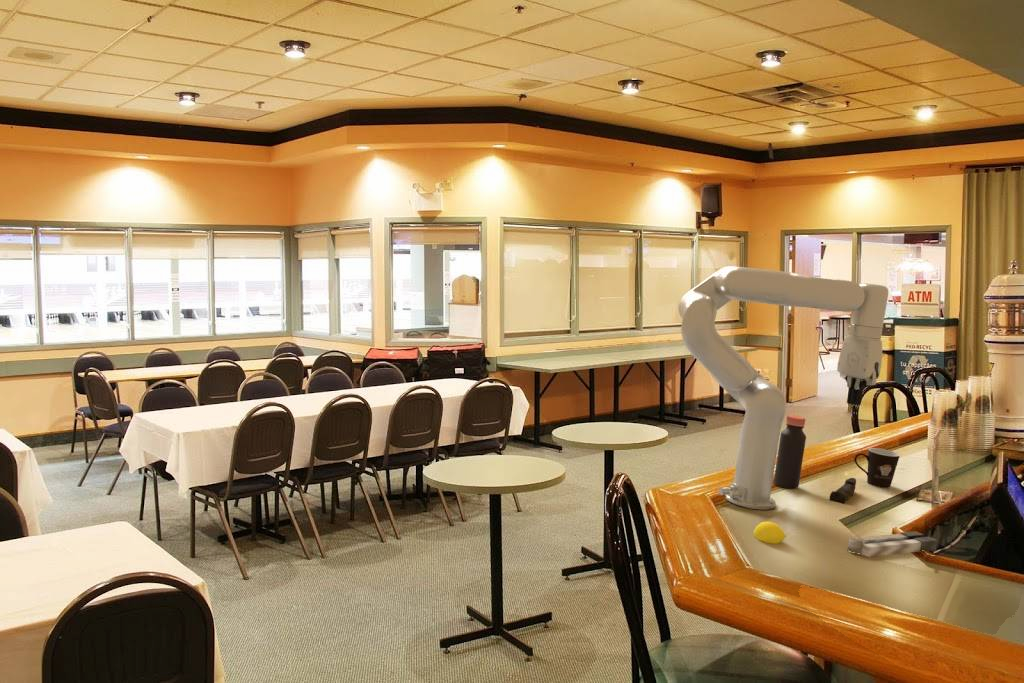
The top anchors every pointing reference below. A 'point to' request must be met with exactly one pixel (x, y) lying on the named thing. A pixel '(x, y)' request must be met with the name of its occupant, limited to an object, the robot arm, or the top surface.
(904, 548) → the tongs board
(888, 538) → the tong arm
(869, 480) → the coffee mug
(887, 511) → the top surface
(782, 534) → the lemon
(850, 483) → the hand tool
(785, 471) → the bottle
